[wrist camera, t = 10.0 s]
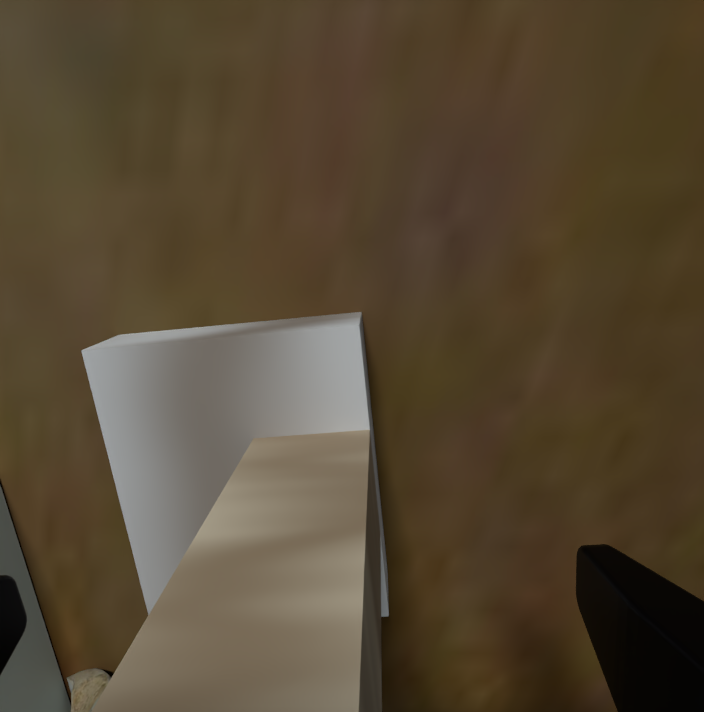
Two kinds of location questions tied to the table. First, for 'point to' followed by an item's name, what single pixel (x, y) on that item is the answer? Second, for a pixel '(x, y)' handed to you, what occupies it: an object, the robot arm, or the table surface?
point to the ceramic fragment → (87, 688)
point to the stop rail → (28, 640)
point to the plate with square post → (247, 515)
